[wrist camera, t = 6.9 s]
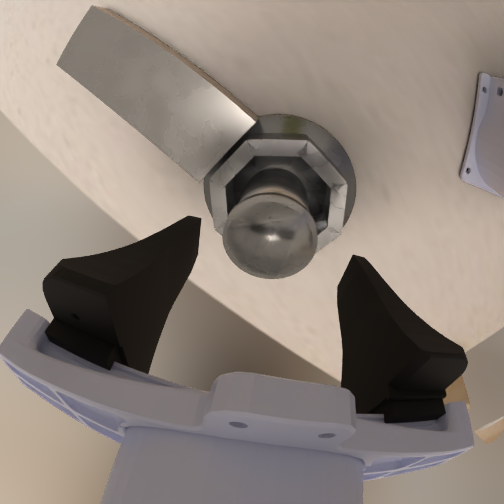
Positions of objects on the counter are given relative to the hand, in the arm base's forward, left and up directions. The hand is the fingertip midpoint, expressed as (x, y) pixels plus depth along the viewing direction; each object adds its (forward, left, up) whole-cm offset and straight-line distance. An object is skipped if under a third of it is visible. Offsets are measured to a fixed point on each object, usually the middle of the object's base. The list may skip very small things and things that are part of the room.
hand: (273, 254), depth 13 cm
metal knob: (+1, 0, -8) cm, 8 cm away
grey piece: (-5, -6, -8) cm, 11 cm away
